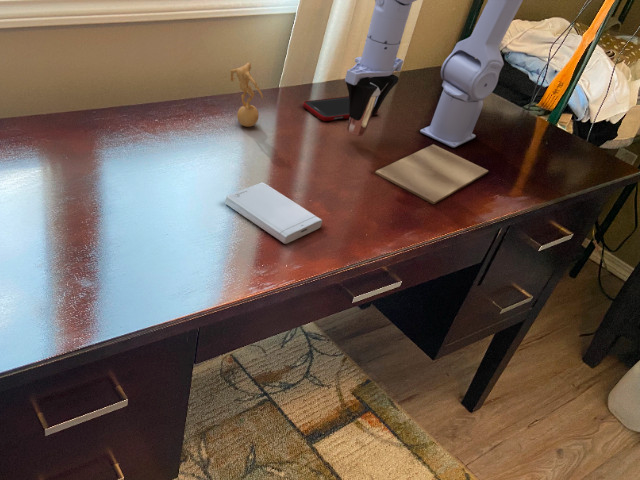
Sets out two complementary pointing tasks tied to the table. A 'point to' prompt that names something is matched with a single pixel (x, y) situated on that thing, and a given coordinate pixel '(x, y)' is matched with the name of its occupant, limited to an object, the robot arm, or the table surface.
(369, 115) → the milkshake
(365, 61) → the robot arm
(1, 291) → the table surface
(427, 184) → the desk mat
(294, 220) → the hard drive
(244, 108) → the figurine
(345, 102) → the cell phone
